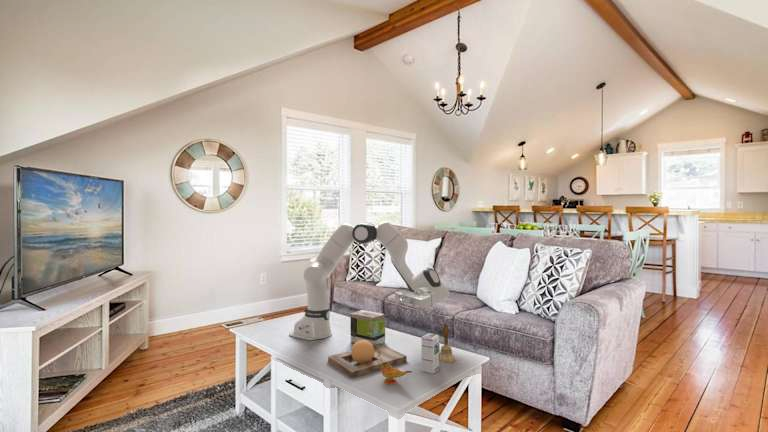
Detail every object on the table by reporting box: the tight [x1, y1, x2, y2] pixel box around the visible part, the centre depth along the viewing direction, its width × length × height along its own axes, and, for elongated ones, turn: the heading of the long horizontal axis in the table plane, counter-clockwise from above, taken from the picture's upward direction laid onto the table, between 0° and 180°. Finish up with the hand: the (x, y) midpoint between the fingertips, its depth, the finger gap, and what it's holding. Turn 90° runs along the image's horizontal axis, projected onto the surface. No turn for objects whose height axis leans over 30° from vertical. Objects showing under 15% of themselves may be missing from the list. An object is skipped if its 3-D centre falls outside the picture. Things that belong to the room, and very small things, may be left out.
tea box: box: [350, 309, 386, 345], centre depth 197 cm, size 15×10×15 cm, turn 54°
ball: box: [350, 340, 374, 365], centre depth 171 cm, size 10×10×10 cm
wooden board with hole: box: [327, 343, 408, 379], centre depth 173 cm, size 28×20×2 cm
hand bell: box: [440, 322, 457, 363], centre depth 176 cm, size 8×8×16 cm
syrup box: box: [420, 332, 441, 374], centre depth 164 cm, size 6×6×14 cm
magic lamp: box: [377, 349, 413, 385], centre depth 153 cm, size 7×18×11 cm, turn 48°
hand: (399, 300), depth 182 cm, fingers closed
